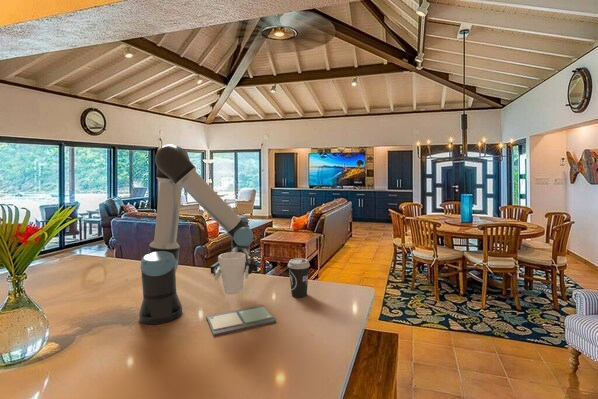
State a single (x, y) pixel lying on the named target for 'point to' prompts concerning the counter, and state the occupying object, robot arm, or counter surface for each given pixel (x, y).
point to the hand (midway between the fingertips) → (231, 275)
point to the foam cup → (232, 271)
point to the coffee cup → (298, 276)
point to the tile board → (239, 320)
